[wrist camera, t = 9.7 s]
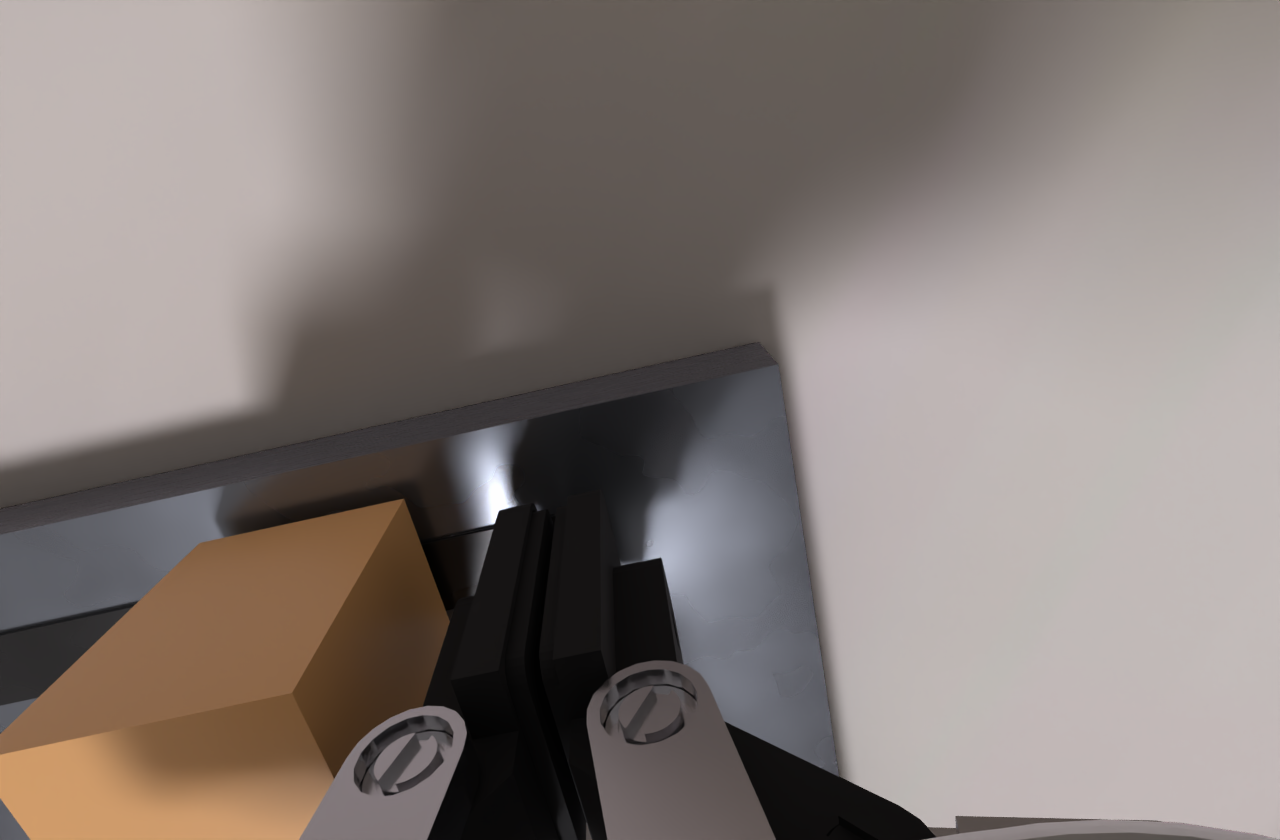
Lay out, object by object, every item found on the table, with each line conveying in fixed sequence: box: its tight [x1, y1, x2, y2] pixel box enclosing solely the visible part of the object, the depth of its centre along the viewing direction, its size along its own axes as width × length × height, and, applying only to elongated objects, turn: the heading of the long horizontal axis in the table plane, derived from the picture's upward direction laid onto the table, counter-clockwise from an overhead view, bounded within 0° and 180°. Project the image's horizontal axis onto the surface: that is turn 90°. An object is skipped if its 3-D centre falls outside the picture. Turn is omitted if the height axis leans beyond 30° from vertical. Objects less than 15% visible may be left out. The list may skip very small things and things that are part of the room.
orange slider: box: [0, 499, 450, 840], centre depth 10 cm, size 4×4×4 cm
